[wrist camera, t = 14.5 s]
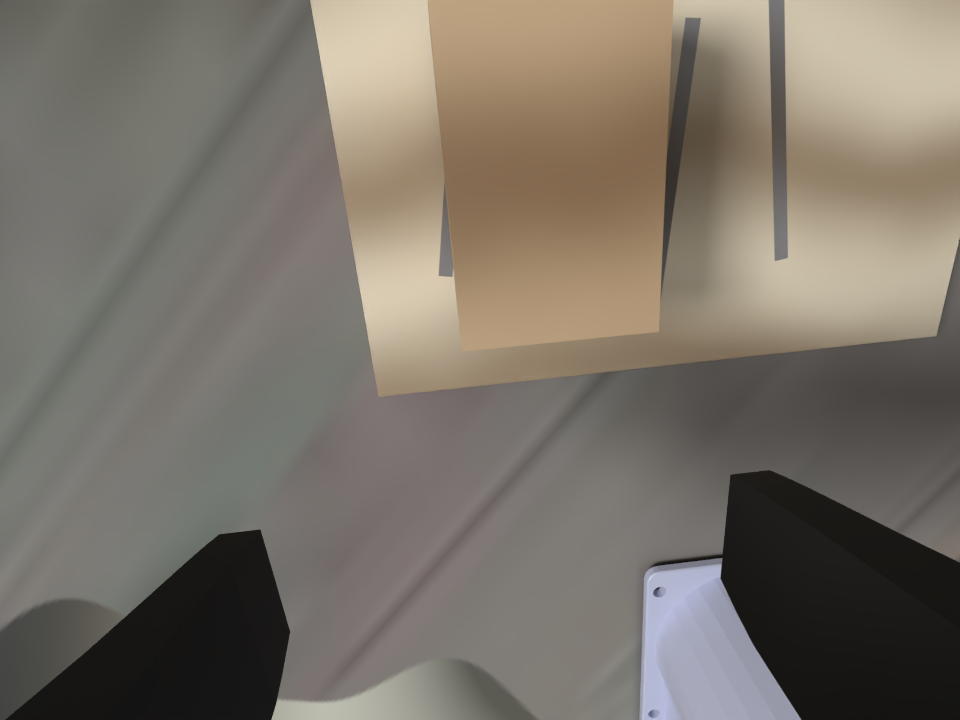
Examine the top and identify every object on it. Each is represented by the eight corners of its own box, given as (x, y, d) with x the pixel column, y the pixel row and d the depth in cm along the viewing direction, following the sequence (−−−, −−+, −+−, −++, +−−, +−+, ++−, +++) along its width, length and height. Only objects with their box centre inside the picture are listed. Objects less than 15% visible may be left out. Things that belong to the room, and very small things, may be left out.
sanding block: (607, 290, 16) (658, 331, 12) (456, 304, 16) (462, 351, 12) (609, 17, 13) (675, -36, 10) (430, 31, 13) (425, -17, 9)
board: (906, 325, 18) (936, 336, 17) (382, 381, 18) (378, 396, 17) (999, -111, 14) (1048, -134, 13) (308, -57, 13) (297, -76, 12)
